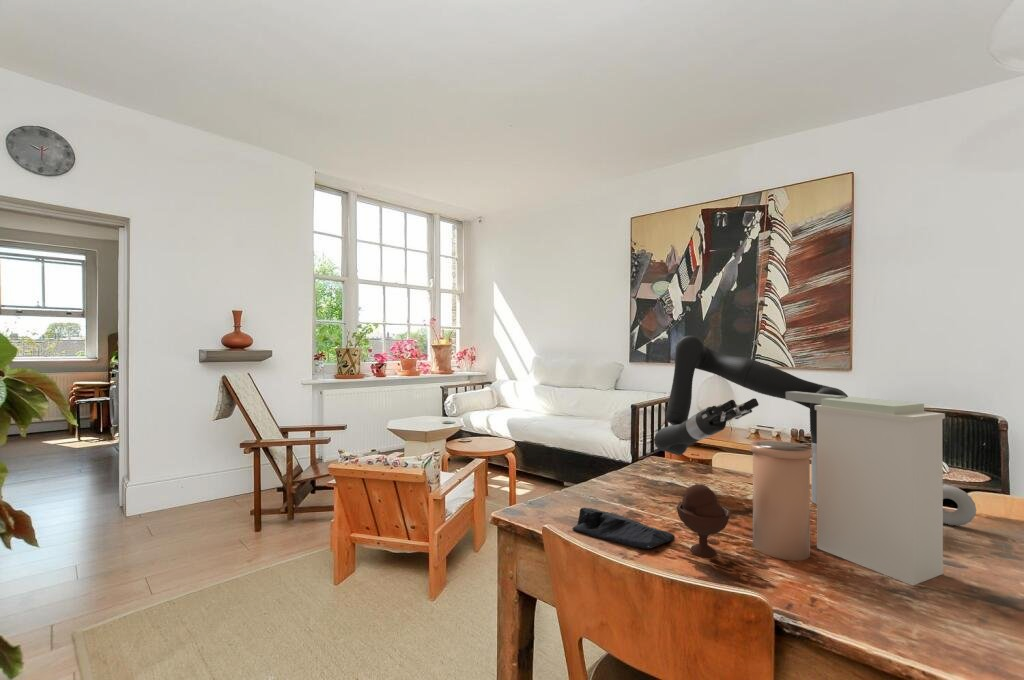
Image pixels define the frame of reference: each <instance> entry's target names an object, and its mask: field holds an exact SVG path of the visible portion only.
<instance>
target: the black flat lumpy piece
mask: <svg viewBox="0 0 1024 680" xmlns="http://www.w3.org/2000/svg"><path fill="white" fill-rule="evenodd" d="M578 514H579V516H578V519H577V520H578V521H577V524H576V525H575V526H573V527H572V528H571V529H572V530H573V531H575V532H578V533H580V532H581V533H583V534H586V535H588V536H591V537H595V538H596V539H600V540H607V541H611V542H613V543H619V544H620V545H626V546H629V547H632V548H638V549H643V550H648V549H649V550H650V549H653V548H654V547H657V546H659V545H662V544H666V543H669V542H671V541H674V539H675V537H676V536H675V535H674V533H671V532H669V531H666V530H663V529H662V530H661V529H658V528H654V527H651V526H648V525H646V524H643V523H641V522H640V521H637V520H634V519H631V518H627V517H625V516H622V515H619V514H616V513H613V512H609V511H604V510H603V511H602V510H600V509H595V508H592V507H581V508H580V509H579V513H578Z"/></svg>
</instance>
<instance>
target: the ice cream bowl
mask: <svg viewBox="0 0 1024 680" xmlns="http://www.w3.org/2000/svg"><path fill="white" fill-rule="evenodd" d="M676 510H677V511H676V512H677V516H678V517H679V519H680V521H681V522H682V523H683V524H684V525H685V526H686V527H687V528H688V529H690V530H691V531H692V532H693V533H696V534H697V535H698V543H696V544H694V545H691V547H690V550H689V552H690V553H691V552H692V553H691V554H692V555H694V554H695V555H694V556H697V557H699V556H700V558H705V557H706V559H711V558H716V557H717V555H718V553H717V550H716V549H714V548H713V547H712V546H710V545H709V544H708V537H709V536H710V535H711V536H712V535H715V534H718V533H720V532H721V531H723V530H724V529H725V528H726V527H727V525H728V522H729V519H730V516H731V510H730V509H728V508H727V507H724V506H723V505H721V504H720V501H719V498H718V497H717V495H716V494H715V492H714V490H712V489H711V488H710V487H708V486H707V485H705V484H701V483H700V484H698V483H696V484H693V485H690V486H688V488H686V490H685V494H684V495H683V496H682V500H681V502H679V503H678V504H677V506H676Z"/></svg>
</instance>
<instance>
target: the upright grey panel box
mask: <svg viewBox="0 0 1024 680" xmlns="http://www.w3.org/2000/svg"><path fill="white" fill-rule="evenodd" d="M815 410H817V505H816V548H817V549H818V550H821V551H823V552H825V553H828V554H831V555H834V556H835V557H839V558H840V559H844V560H847V561H849V562H852V563H854V564H856V565H859V566H861V567H863V568H867V569H869V570H872V571H874V572H877V573H879V574H881V575H885V576H887V577H888V578H889V577H890V578H891V579H895V580H897V581H900V582H903V583H905V584H908V585H910V586H915V585H918V584H922V583H924V582H926V581H928V580H931V579H934V578H936V577H939V576H942V575H944V527H943V526H944V523H943V509H944V507H943V505H944V504H943V502H944V499H943V485H944V483H943V481H944V480H943V479H944V478H943V477H944V476H943V475H944V474H943V471H944V470H943V465H944V464H943V463H944V462H943V455H944V454H943V420H944V419H946V413H943V412H933V411H925V410H924V412H914V413H905V414H895V415H893V414H884V413H876V412H868V411H859V410H851V409H842V408H834V407H826V406H821V405H815Z"/></svg>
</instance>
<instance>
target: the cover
mask: <svg viewBox="0 0 1024 680" xmlns="http://www.w3.org/2000/svg"><path fill="white" fill-rule="evenodd" d="M785 400H786V401H790V400H791V402H793V401H800V402H808V403H817V404H821V406H826V407H834V408H842V409H851V410H859V411H868V412H876V413H884V414H893V415H895V414H905V413H914V412H924V411H925V403H921V402H920V403H919V402H908V401H898V400H890V399H888V400H886V399H879V398H878V399H877V398H870V397H869V398H867V397H858V396H857V397H856V396H848V397H846V396H839V395H829V394H819V393H808V392H798V391H791V392H786V399H785Z"/></svg>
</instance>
